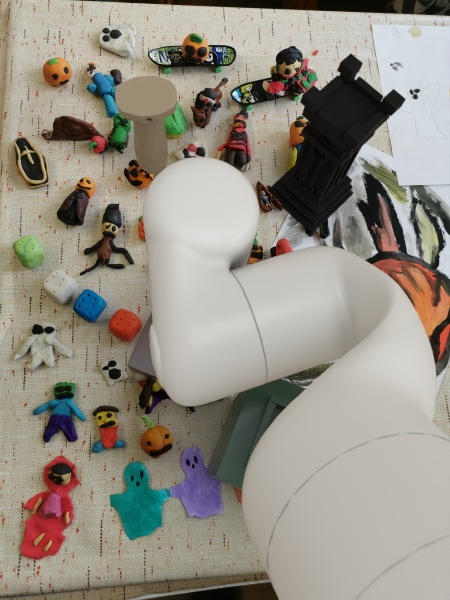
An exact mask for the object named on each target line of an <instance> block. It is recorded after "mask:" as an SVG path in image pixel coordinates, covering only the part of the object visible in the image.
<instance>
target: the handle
mask: <svg viewBox="0 0 450 600" xmlns="http://www.w3.org/2000/svg"><path fill="white" fill-rule="evenodd" d="M177 91H178V90H177V88H176V86H175V84H174V83H173V82H172V81H171V80H170V79H166V78H163V77H159V76H155V75H143V76H134V77H132V78H129V79H126V80H125V81H123V82H121V83H119V84H118V85H117V87H116V89H115V91H114V92H115V93H114V100H115V104H116V108H117V111H118V113H119V115H120V116H121V118H123V119H125V120H128V121H131V122H132V123H133V147H134V153H135V157H136V161H137V163H138V166H139V165H140V166H139V168H140V167H141V168H142V169H143V170H144V171H146V172H147V173H150V174H153V178H155V177H156V176H157V175H158V174H159V173H160V172H161V171H162V170H163V169H165V168H166V167H167V166H166V165H167V161H168V156H169V155H168V154H169V146H168V137H167V130H166V124H165V119H168V118H170V117H171V116H173V115H174V114H175V113H176V111H177V106H178V92H177ZM141 168H140V169H141Z"/></svg>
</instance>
